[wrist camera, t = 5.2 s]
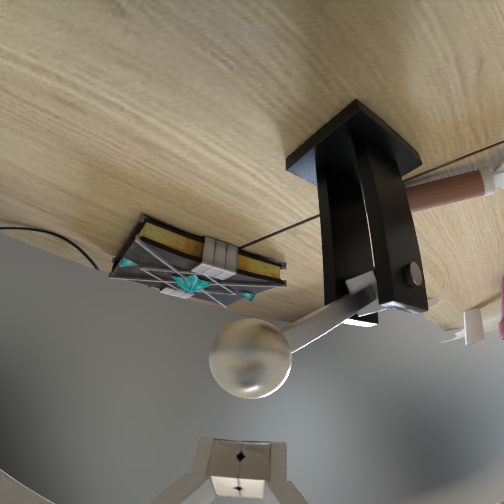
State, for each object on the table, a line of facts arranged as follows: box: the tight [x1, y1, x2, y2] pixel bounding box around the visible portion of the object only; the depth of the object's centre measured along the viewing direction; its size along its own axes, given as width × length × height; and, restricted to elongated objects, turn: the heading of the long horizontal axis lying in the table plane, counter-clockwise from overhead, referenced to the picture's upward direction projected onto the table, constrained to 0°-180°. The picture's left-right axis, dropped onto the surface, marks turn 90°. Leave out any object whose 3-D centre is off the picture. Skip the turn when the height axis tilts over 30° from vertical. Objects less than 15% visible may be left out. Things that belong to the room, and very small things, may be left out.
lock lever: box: [209, 267, 389, 399], centre depth 14 cm, size 13×3×3 cm, turn 57°
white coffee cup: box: [464, 308, 485, 345], centre depth 67 cm, size 7×7×10 cm
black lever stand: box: [286, 99, 428, 327], centre depth 19 cm, size 8×8×13 cm
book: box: [108, 214, 286, 308], centre depth 42 cm, size 22×17×5 cm
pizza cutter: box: [365, 159, 504, 215], centre depth 21 cm, size 20×6×3 cm, turn 132°
